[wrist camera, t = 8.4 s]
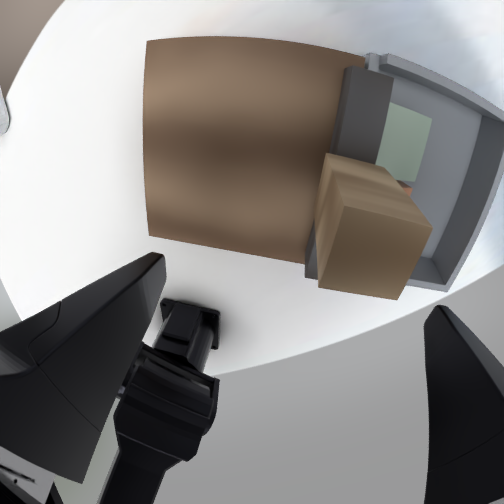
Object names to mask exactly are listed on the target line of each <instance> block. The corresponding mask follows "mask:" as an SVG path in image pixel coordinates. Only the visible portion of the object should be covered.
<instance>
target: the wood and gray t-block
mask: <svg viewBox="0 0 504 504" xmlns="http://www.w3.org/2000/svg"><path fill="white" fill-rule="evenodd" d="M393 82H394V78H393V77H390V76H387V75H384V74H381V73H378V72H375V71H372V70H368V69H365V68H361V67H358V66H354V65H352V66H350V67H347V68H344V74H343V80H342V86H341V92H340V98H339V104H338V109H337V115H336V120H335V125H334V130H333V135H332V140H331V145H330V150H329V153H326V155H325V160H324V165H323V169H322V174H321V179H320V183H319V188H318V192H317V196H316V201H315V205H314V220H313V224H312V228H311V232H310V236H309V240H308V244H307V248H306V252H305V278H310V279H316V280H318V288H324V289H330V290H336V291H342V292H348V293H354V294H360V295H367V296H373V297H379V298H386V299H392V300H398V298H399V296H400V294H401V293H402V291H403V289H404V287H405V285H406V283H407V282H408V280H409V278H410V276H411V274H412V272H413V270H414V268H415V266H416V264H417V262H418V260H419V258H420V256H421V254H422V252H423V250H424V248H425V245H426V243H427V241H428V239H429V237H430V234H431V232H432V230H433V227H432V225H431V224H430V223H429V221H428V220H427V219H426V217H425V216H424V215H423V213H422V212H421V211H420V209H419V208H418V207H417V206H416V204H415V203H414V202H413V200H412V199H411V198H410V197H409V196H408V194H407V193H406V192H405V191H404V189H403V188H402V187H401V186H400V185H399V183H398V182H397V181H396V180H395V179H394V178H393V177H392V175H391V174H390V173H389V172H388V171H387V170H386V169H385V168H384V167H381V166H378V165H375V164H376V160H377V156H378V152H379V148H380V144H381V140H382V136H383V132H384V127H385V123H386V118H387V113H388V109H389V104H390V99H391V93H392V88H393Z"/></svg>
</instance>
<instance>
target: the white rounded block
mask: <svg viewBox="0 0 504 504" xmlns="http://www.w3.org/2000/svg"><path fill="white" fill-rule="evenodd" d="M8 125H9V116H8V112H7V108H6V105H5V102H4V98H3V95H2V91H1V87H0V135H2V134H4V133H5V132H6V130H7V128H8Z"/></svg>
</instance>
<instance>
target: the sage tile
mask: <svg viewBox="0 0 504 504" xmlns="http://www.w3.org/2000/svg"><path fill="white" fill-rule="evenodd" d="M431 122H432V119H431V118H429V117H427V116H424V115H422V114H419V113H417V112H415V111H412V110H410V109H407V108H404V107H402V106H399V105H396V104H394V103H391V102H390V104H389V109H388V113H387V118H386V123H385V127H384V132H383V136H382V140H381V144H380V148H379V152H378V156H377V160H376V164H375V165H378V166H381V167H384V168H385V169H386V170H387V171H388V172H389V173H390V174H391V175H392V177H393V178H394V179H395V180H402V181H412V182H415V180H416V177H417V174H418V170H419V167H420V164H421V160H422V157H423V153H424V150H425V146H426V142H427V139H428V135H429V131H430V127H431Z"/></svg>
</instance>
